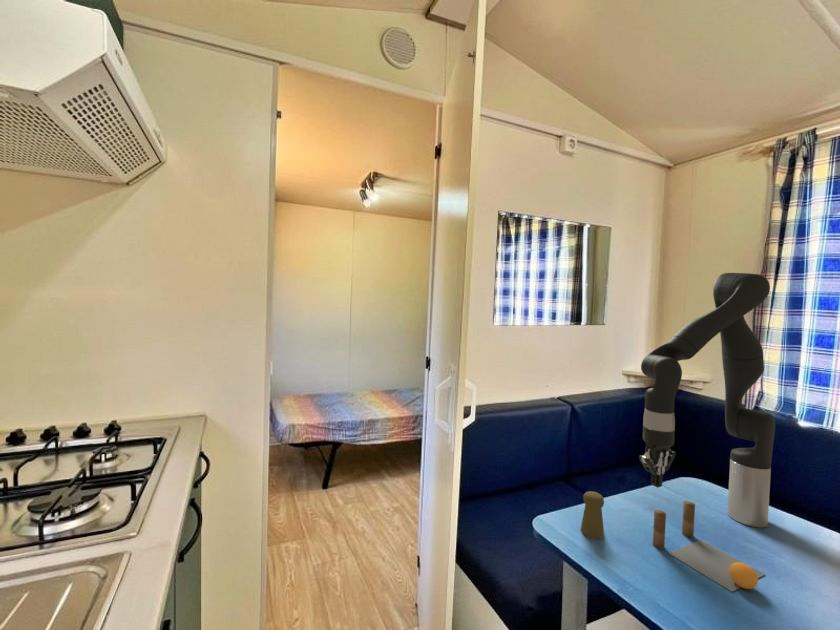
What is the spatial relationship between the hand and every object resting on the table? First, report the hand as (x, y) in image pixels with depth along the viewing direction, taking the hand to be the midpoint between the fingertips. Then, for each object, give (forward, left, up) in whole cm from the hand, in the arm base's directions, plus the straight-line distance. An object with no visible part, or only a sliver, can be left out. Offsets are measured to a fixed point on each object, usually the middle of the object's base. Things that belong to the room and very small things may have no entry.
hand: (656, 485), depth 107 cm
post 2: (-6, +6, -13) cm, 15 cm away
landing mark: (0, +16, -13) cm, 20 cm away
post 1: (+7, +6, -13) cm, 15 cm away
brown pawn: (+18, -5, -13) cm, 23 cm away
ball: (+3, +22, -10) cm, 25 cm away
